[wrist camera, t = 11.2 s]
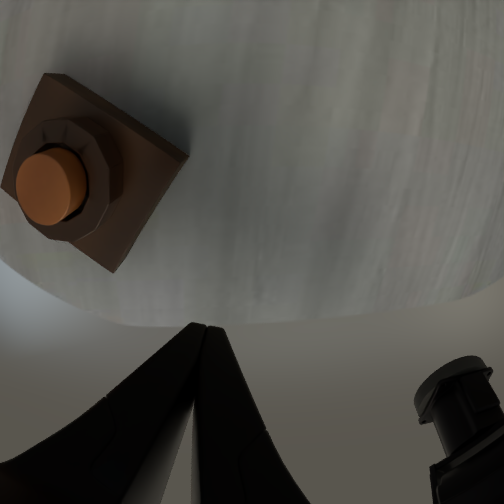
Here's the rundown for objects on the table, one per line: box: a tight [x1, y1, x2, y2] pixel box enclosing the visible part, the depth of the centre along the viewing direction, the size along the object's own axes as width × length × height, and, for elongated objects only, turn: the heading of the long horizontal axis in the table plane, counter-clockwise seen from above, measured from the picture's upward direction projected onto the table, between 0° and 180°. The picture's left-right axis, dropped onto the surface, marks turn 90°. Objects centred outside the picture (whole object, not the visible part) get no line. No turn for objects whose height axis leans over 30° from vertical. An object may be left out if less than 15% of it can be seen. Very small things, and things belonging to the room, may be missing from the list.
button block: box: [0, 73, 189, 273], centre depth 16 cm, size 10×8×4 cm
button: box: [16, 147, 87, 225], centre depth 13 cm, size 4×4×2 cm
